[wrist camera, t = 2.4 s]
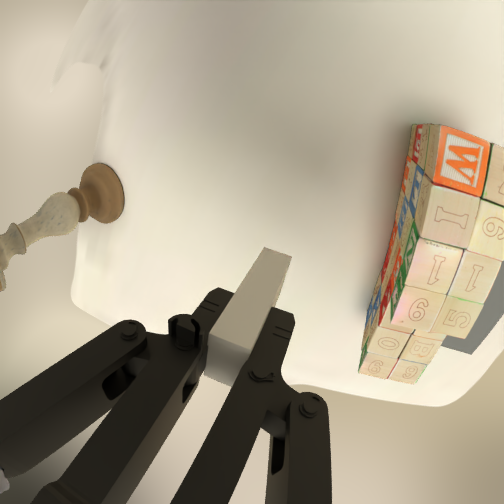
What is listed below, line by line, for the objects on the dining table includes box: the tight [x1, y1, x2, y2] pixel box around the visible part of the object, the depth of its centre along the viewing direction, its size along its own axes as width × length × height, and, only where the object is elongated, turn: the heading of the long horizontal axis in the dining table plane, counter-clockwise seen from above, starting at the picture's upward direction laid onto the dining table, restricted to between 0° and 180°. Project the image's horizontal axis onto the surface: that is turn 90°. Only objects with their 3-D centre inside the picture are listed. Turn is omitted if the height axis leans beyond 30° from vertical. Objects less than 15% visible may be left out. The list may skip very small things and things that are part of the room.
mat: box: [441, 261, 504, 354], centre depth 22 cm, size 24×13×1 cm, turn 169°
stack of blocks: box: [358, 124, 504, 384], centre depth 19 cm, size 21×6×12 cm, turn 178°
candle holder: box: [0, 163, 124, 292], centre depth 26 cm, size 9×9×20 cm
